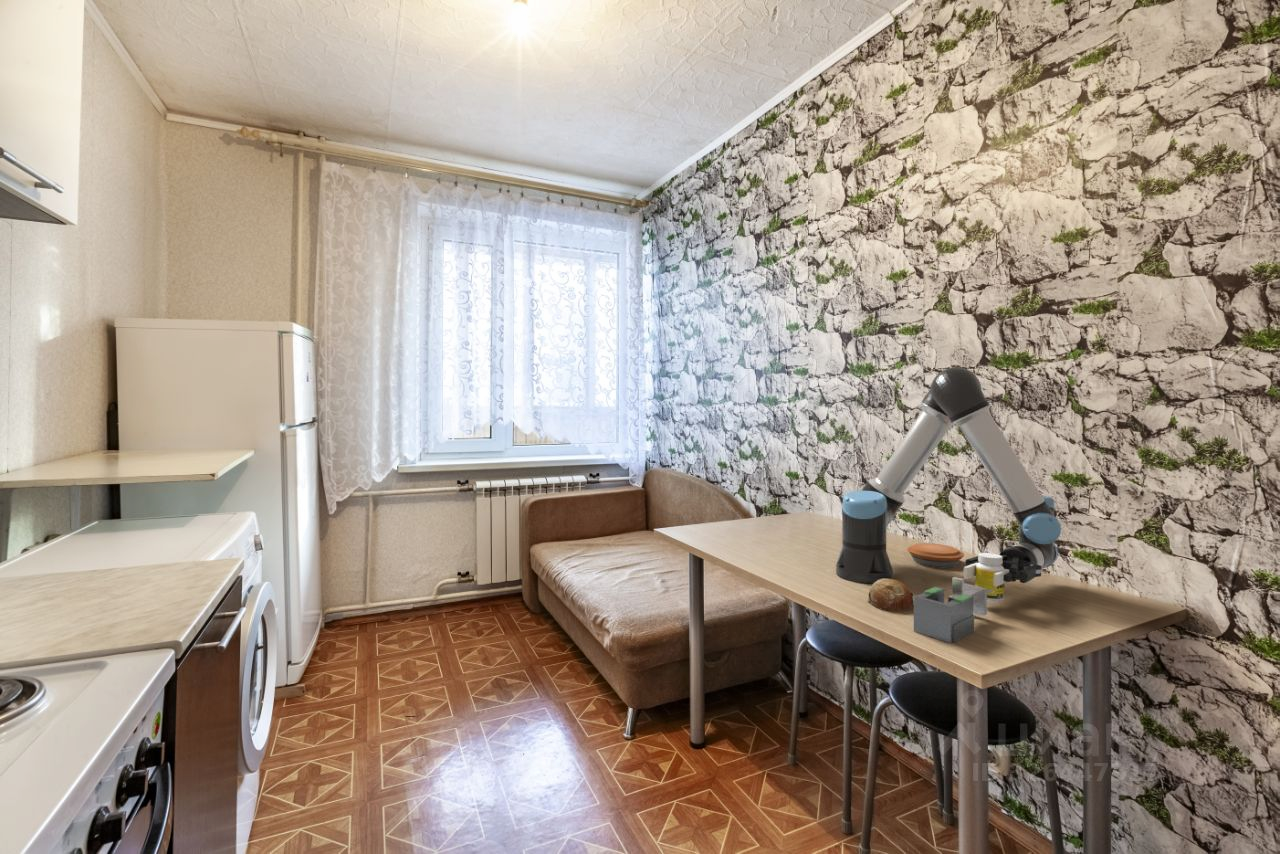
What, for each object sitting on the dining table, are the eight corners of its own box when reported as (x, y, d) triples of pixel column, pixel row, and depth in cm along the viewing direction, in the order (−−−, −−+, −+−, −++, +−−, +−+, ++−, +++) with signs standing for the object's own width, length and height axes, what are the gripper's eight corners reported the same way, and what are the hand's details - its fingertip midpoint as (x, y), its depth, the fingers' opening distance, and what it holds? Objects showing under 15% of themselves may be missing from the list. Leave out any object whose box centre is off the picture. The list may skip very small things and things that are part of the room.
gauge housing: (935, 620, 124) (936, 585, 124) (974, 631, 118) (974, 595, 117) (912, 630, 118) (913, 594, 118) (951, 643, 112) (952, 605, 112)
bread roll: (869, 611, 140) (855, 583, 140) (906, 594, 140) (892, 565, 139) (885, 626, 130) (870, 596, 130) (925, 608, 130) (910, 578, 129)
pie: (960, 573, 160) (960, 556, 159) (902, 564, 169) (902, 548, 169) (967, 561, 172) (967, 545, 172) (912, 553, 181) (912, 538, 181)
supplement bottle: (1001, 603, 127) (1002, 560, 127) (972, 598, 131) (973, 555, 131) (1005, 597, 132) (1006, 554, 131) (977, 592, 135) (978, 550, 135)
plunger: (963, 608, 129) (963, 569, 128) (986, 614, 125) (987, 574, 124) (941, 618, 123) (942, 577, 122) (965, 625, 119) (966, 583, 118)
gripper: (1064, 584, 134) (1026, 604, 121) (980, 566, 149) (938, 582, 136) (1065, 553, 134) (1027, 570, 120) (981, 538, 149) (938, 551, 135)
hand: (980, 576), depth 128 cm, fingers closed on supplement bottle, 6 cm apart
